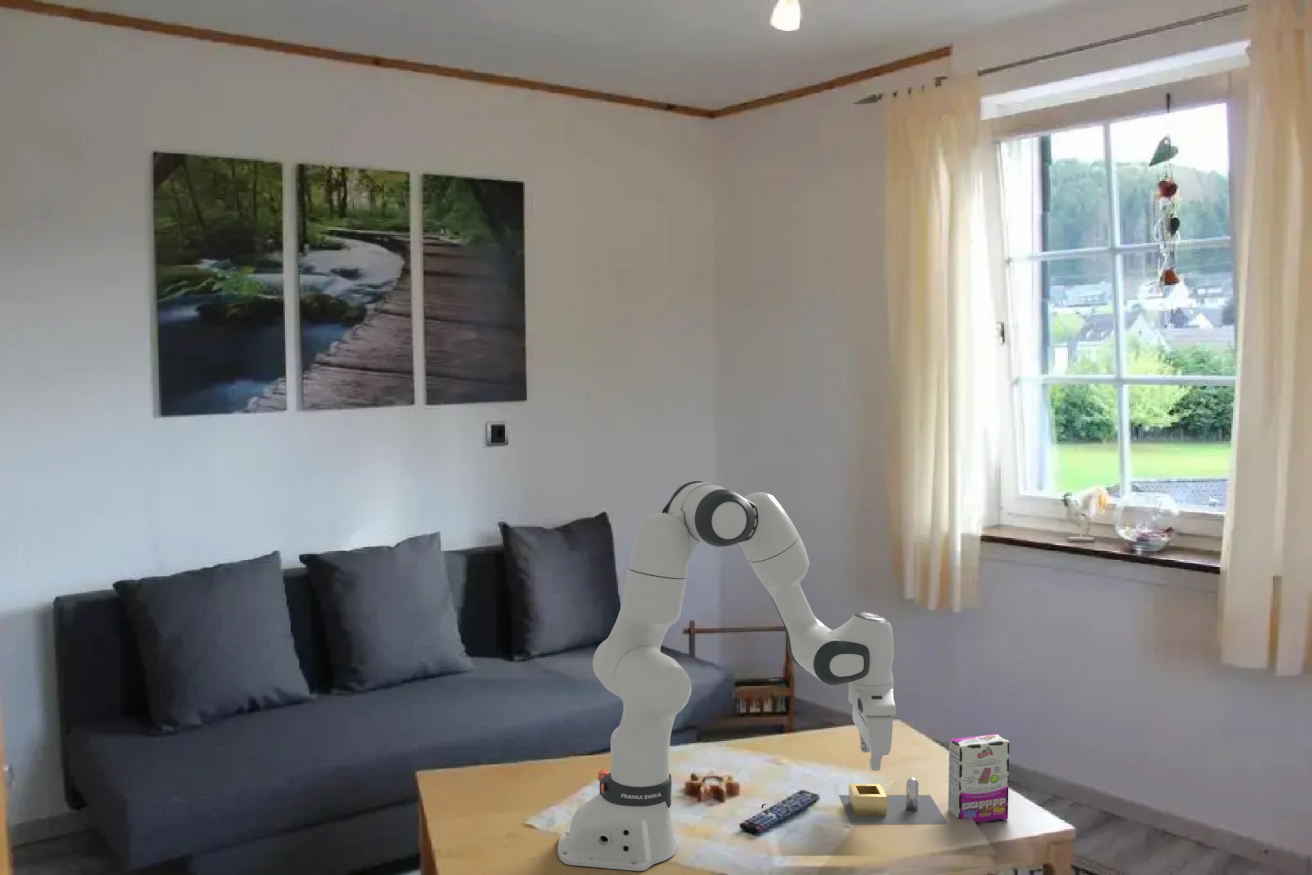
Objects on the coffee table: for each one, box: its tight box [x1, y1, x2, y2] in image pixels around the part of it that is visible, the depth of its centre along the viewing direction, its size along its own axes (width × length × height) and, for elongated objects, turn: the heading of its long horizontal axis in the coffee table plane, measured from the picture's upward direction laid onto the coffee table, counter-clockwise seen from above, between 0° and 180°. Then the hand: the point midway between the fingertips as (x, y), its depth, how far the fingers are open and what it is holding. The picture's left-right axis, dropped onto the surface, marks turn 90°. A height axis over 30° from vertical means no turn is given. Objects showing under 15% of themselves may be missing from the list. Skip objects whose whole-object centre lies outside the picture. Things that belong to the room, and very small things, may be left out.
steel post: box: [905, 777, 920, 812], centre depth 232 cm, size 2×2×6 cm
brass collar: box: [848, 783, 888, 816], centre depth 232 cm, size 6×6×4 cm
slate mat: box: [838, 794, 949, 825], centre depth 232 cm, size 19×14×2 cm
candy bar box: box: [947, 733, 1010, 825], centre depth 231 cm, size 11×5×16 cm, turn 105°
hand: (870, 760), depth 231 cm, fingers open, 8 cm apart
